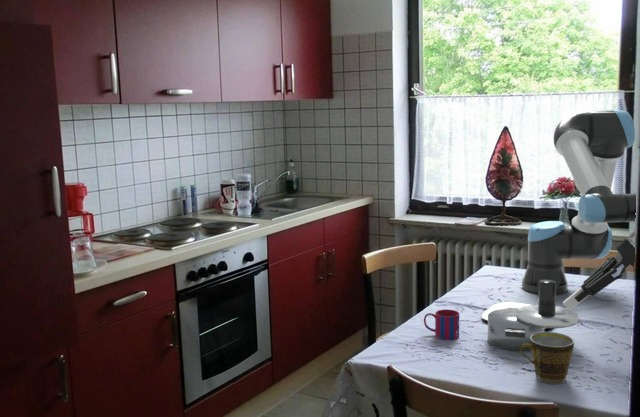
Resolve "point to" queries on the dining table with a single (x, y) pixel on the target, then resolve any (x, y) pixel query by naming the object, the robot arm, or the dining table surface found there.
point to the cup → (445, 324)
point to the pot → (509, 330)
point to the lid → (547, 310)
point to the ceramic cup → (550, 356)
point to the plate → (502, 306)
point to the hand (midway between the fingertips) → (566, 306)
